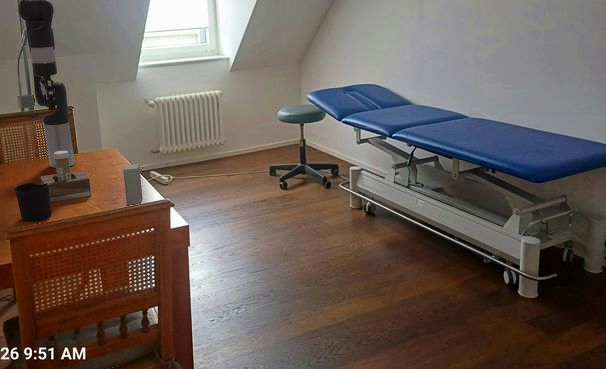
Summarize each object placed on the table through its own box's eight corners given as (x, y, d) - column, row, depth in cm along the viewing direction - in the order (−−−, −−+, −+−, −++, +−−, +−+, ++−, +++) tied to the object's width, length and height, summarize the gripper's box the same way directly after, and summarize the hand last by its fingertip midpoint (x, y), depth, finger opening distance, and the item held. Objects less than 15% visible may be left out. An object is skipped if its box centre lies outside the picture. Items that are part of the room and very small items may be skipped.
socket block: (42, 193, 219) (40, 176, 217) (84, 186, 225) (82, 170, 224) (47, 202, 209) (45, 185, 207) (91, 195, 215) (89, 178, 214)
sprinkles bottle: (74, 190, 216) (69, 152, 212) (60, 192, 214) (55, 154, 210) (71, 187, 220) (66, 149, 216) (57, 189, 218) (52, 151, 214)
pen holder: (46, 210, 202) (41, 180, 199) (57, 217, 195) (53, 186, 192) (16, 217, 196) (10, 186, 193) (26, 225, 189) (21, 193, 186)
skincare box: (129, 199, 211) (126, 163, 207) (143, 198, 211) (139, 163, 207) (126, 205, 205) (122, 169, 201) (140, 204, 205) (136, 168, 201)
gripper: (29, 59, 217) (36, 106, 222) (34, 63, 206) (41, 112, 210) (52, 58, 221) (58, 104, 226) (58, 61, 209) (65, 110, 214)
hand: (50, 108), depth 218 cm, fingers open, 8 cm apart
